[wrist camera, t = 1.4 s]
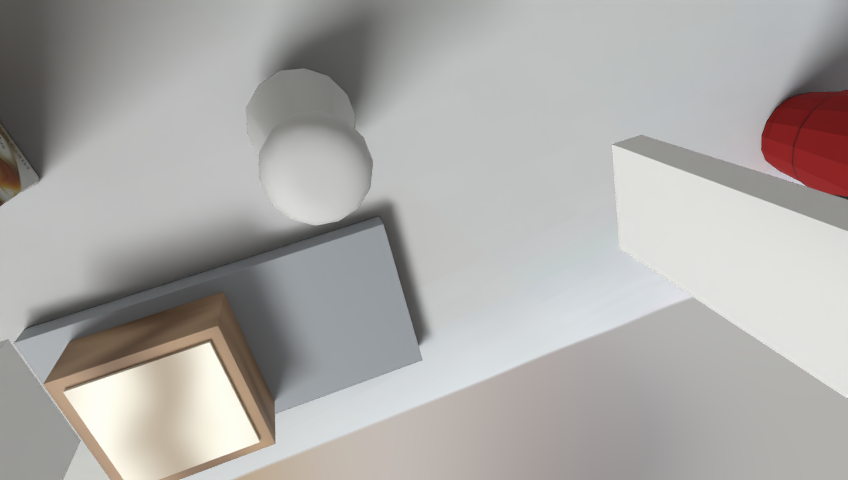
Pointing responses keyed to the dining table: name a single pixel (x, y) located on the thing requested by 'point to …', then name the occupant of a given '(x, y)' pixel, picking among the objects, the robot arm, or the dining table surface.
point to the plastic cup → (811, 140)
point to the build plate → (281, 314)
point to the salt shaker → (308, 147)
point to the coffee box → (13, 169)
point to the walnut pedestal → (166, 393)
